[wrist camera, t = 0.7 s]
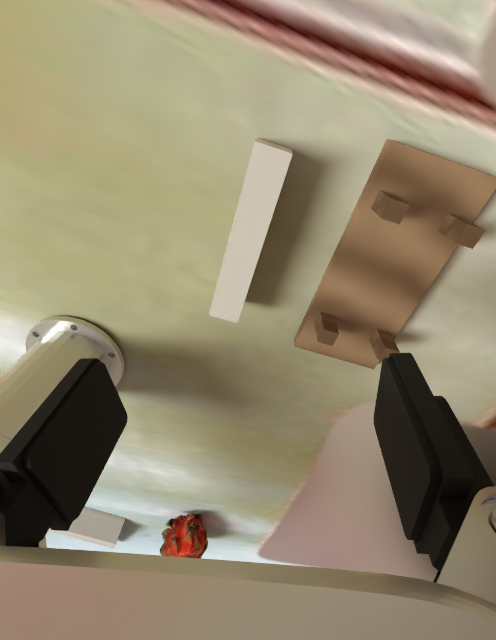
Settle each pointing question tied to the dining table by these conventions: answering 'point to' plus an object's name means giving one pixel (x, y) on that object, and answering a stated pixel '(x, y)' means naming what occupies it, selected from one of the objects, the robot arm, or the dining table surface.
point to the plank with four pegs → (392, 252)
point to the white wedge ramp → (95, 527)
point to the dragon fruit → (185, 537)
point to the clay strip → (250, 227)
